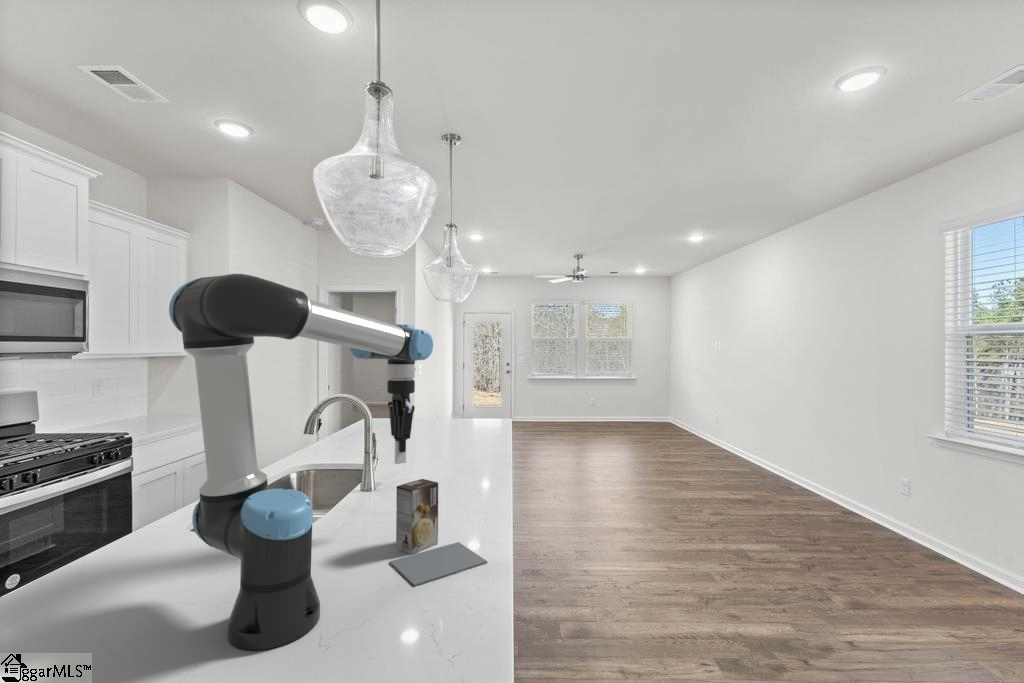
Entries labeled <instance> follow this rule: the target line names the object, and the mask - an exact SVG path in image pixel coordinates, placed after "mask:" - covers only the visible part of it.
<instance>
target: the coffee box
mask: <svg viewBox="0 0 1024 683" xmlns="http://www.w3.org/2000/svg"><path fill="white" fill-rule="evenodd" d="M395 509H396V510H395V511H396V516H395V517H396V519H395V520H396V521H395V522H396V523H395V524H396V525H395V528H396V529H395V530H396V531H395V533H396V534H395V536H396V537H395V547H396V549H397V550H400V551H402V552H404V553H407V554H408V555H414V554H418V553H420V552H422V551H424V550H425V549H428V548H430V547H432V546H434V545H436V544H438V543H439V482H438V481H435V480H434V481H433V480H430V479H425V478H420V479H417V480H413V481H411V482H407V483H403V484H400V485H396V508H395Z"/></svg>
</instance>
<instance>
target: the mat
mask: <svg viewBox="0 0 1024 683" xmlns="http://www.w3.org/2000/svg"><path fill="white" fill-rule="evenodd" d="M389 564H390V565H391V564H392V565H393V566H392V565H391V566H392V567H393V568H394V569H395V570H396V569H397V570H396V571H397V572H399V574H401V576H403V577H404V578H405V580H406V581H407V582H409V583H410V584H411V585H412V586H413V587H418V586H420V585H421V586H422V585H423V584H427V583H430V582H434V581H437V580H439V579H442V578H445V577H448V576H451V575H455V574H458V573H460V572H465V571H466V570H470V569H473V568H476V567H478V566H483V565H486V564H488V560H486V559H484V558H483V557H482V556H480V555H478V553H475V552H474V551H473V550H471V549H470V548H468V546H465V545H464V544H462V543H461V542H459V541H457V542H454V543H450V544H446V545H443V546H440V547H436V548H432V549H429V550H428V549H427V550H425V551H420V552H417V553H414V554H412V555H411V554H409V555H407V556H404V557H400V558H397V559H393V560H390V561H389Z"/></svg>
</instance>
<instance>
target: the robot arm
mask: <svg viewBox="0 0 1024 683" xmlns="http://www.w3.org/2000/svg"><path fill="white" fill-rule="evenodd" d="M168 306H169V307H168V313H169V319H170V320H171V322H172V324H173V326H174V327H175V328H176V329H177V330H178V331H179V332H181V336H182V337H181V338H182V344H183V351H185V352H186V353H188V354H190V355H191V356H193V359H194V363H195V372H196V382H197V392H198V399H199V400H198V402H199V409H200V418H201V429H202V436H203V438H202V440H203V448H204V449H203V450H204V455H205V456H204V457H205V458H204V459H205V466H206V475H207V479H206V481H205V482H204V483H203V484H202V485H201V486H200V488H199V490H198V492H199V501H198V503H197V504H195V505H194V506H195V507H194V509H193V512H192V516H191V517H192V519H191V520H192V527H193V530H194V532H195V534H196V535H197V536H198V538H199V539H200V540H202V542H204V543H205V544H206V545H208V547H210V548H214V549H215V550H219V551H222V552H224V553H226V554H228V555H231V556H233V557H235V558H238V559H239V560H240V581H239V583H240V584H239V585H240V587H239V592H238V593H237V596H236V599H235V602H234V604H233V607H232V610H231V613H230V617H229V618H228V621H227V636H226V637H227V640H228V642H229V644H230V645H232V646H233V647H235V648H237V649H239V650H244V651H245V650H246V651H262V650H269V649H272V648H273V649H274V648H278V647H282V646H285V645H287V644H290V643H291V642H295V641H297V640H299V639H300V638H302V637H304V636H306V635H307V634H308V633H309V632H311V630H312V629H314V628H315V627H316V625H317V624H318V622H319V620H320V617H321V602H320V599H319V595H318V592H317V590H316V587H315V583H314V580H313V578H312V547H313V546H312V545H313V544H312V541H313V523H314V514H313V513H314V512H313V504H312V501H311V498H310V497H309V495H307V494H306V493H304V492H302V491H299V490H297V489H293V488H287V489H284V488H270V489H269V484H268V475H267V474H266V473H264V472H263V471H262V470H260V469H259V468H258V459H257V447H256V440H255V439H256V438H255V437H256V436H255V429H254V428H255V427H254V418H253V406H252V399H251V388H250V378H249V367H248V366H249V365H248V364H249V363H248V355H247V354H248V352H249V351H250V350H251V349H252V347H253V346H254V345H255V338H254V337H257V338H258V337H259V338H260V337H268V338H269V337H270V338H279V339H285V340H289V341H290V340H295V339H296V338H299V337H301V338H304V339H309V340H314V341H319V342H324V343H329V344H333V345H337V346H342V347H347V348H349V350H350V353H351V354H352V356H353V358H355V359H357V360H359V359H360V360H365V361H366V360H387V365H386V366H387V369H386V371H387V373H386V375H387V379H388V380H387V382H386V383H387V384H386V385H387V388H386V389H387V391H386V392H387V393H388V394H390V395H391V396H392V397H391V401H388V403H387V406H388V411H389V421H390V423H389V424H390V434H391V437H393V439H394V464H395V465H399V464H406V463H407V440H410V439H411V433H412V424H413V416H414V411H415V408H416V407H415V405H411V397H410V394H413V393H415V392H416V391H415V390H416V387H415V386H416V383H415V382H416V381H415V380H414V378H415V376H416V375H415V371H416V370H417V369H416V367H415V366H416V365H415V364H416V361H424V360H425V361H426V359H428V358H429V357H430V356H431V355H432V353H433V349H434V339H433V337H432V335H431V333H430V332H429V331H428V330H425V329H418V328H415V326H414V325H413V324H404V323H403V324H398V323H395V324H393V323H390V322H385V321H383V320H379V319H375V318H373V317H369V316H366V315H362V314H359V313H356V312H353V311H349V310H346V309H344V308H339V307H336V306H333V305H331V304H326V303H323V302H320V301H317V300H313V299H310V298H309V296H308V295H307V294H306V293H305V292H304V291H302V290H300V289H299V290H298V289H296V288H295V289H294V288H292V287H289V286H286V285H283V284H281V283H277V282H275V281H271V280H268V279H265V278H261V277H260V276H255V275H251V274H244V273H229V274H223V275H215V276H214V275H213V276H206V277H205V276H203V277H199V278H196V279H193V280H191V281H188V282H186V283H184V284H182V285H181V286H180V287H178V289H177V290H175V292H174V294H172V297H171V299H170V301H169V304H168Z"/></svg>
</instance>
